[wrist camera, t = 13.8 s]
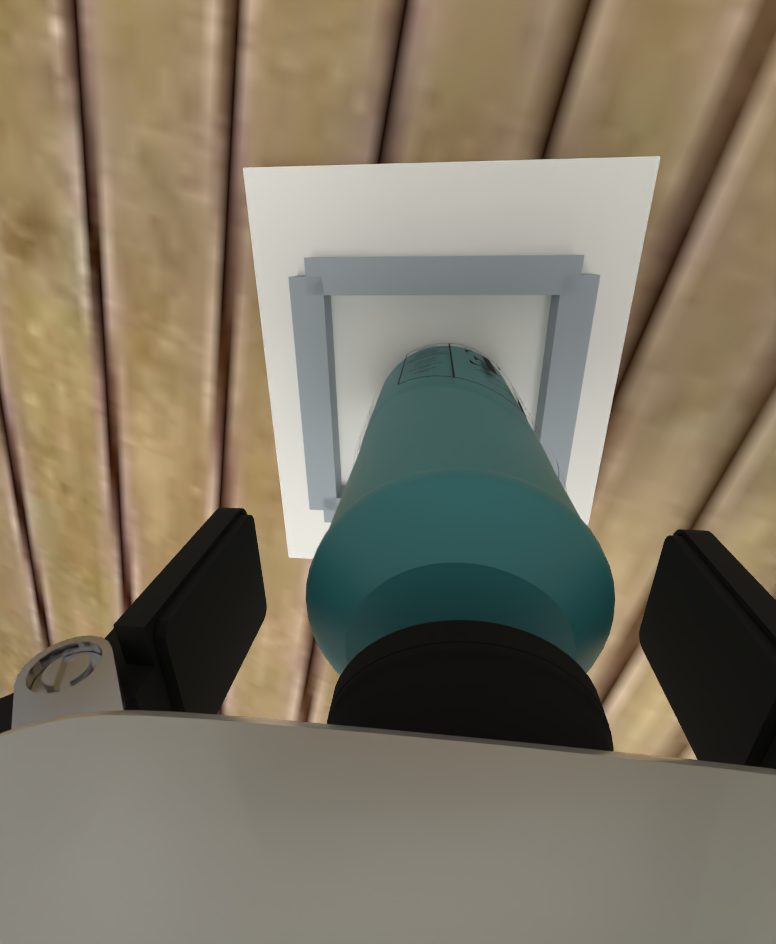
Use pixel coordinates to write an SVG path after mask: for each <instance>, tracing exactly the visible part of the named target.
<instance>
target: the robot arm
mask: <svg viewBox="0 0 776 944" xmlns="http://www.w3.org/2000/svg"><path fill="white" fill-rule="evenodd" d="M266 607H267V605H266V597H265V591H264V584H263V577H262V570H261V564H260V557H259V550H258V543H257V536H256V530H255V523H254V518H253V516H252V515H247V513H246V511H245V510H244V509H242V508H218V509H217V510H216V511H215V512H214V513H213V514H212V516H211V517H210V518H209V519H208V520H207V521H206V522H205V523H204V524H203V526H202V527H201V528H200V529H199V530H198V531H197V532H196V533H195V535H194V536H193V537H192V538H191V539H190V540H189V541H188V542H187V543H186V545H185V546H184V547H183V548H182V549H181V550H180V551H179V552H178V553H177V555H176V556H175V557H174V558H173V559H172V560H171V561H170V562H169V564H168V565H167V566H166V567H165V568H164V569H163V570H162V571H161V572H160V574H159V575H158V576H157V577H156V578H155V579H154V580H153V581H152V582H151V584H150V585H149V586H148V587H147V588H146V589H145V590H144V591H143V593H142V594H141V595H140V596H139V597H138V598H137V599H136V600H135V601H134V603H133V604H132V605H131V606H130V607H129V608H128V609H127V610H126V611H125V613H124V614H123V615H122V616H121V617H120V618H119V619H118V620H117V622H116V623H115V624H114V625H113V626H114V629H113V630H112V631H111V632H110V633H109V634H108V635H107V636H106V638H105V639H104V638H102V637H97V636H79V637H75V638H71V639H67V640H64V641H61V642H59V643H57V644H55V645H52V646H50V647H48V648H47V649H45V650H44V651H42V652H40V653H39V654H37V655H36V656H35V657H33V658H32V659H31V660H30V661H29V662H28V663H27V664H26V665H25V666H24V667H23V668H22V670H21V671H20V672H19V674H18V675H17V678H16V681H15V684H14V693H12V694H10V695H8V696H5V697H3V698H1V699H0V944H776V600H775V599H774V598H773V597H772V596H771V595H770V594H769V593H768V592H767V591H766V590H765V589H764V588H763V586H762V585H761V584H760V583H759V582H758V581H757V580H756V579H755V578H754V577H753V576H752V575H751V574H750V573H749V572H748V571H747V570H746V569H745V568H744V567H743V565H742V564H741V563H740V562H739V561H738V560H737V559H736V558H735V557H734V556H733V555H732V554H731V553H730V552H729V551H728V550H727V549H726V548H725V547H724V546H723V545H722V543H721V542H720V541H719V540H718V539H717V538H716V537H715V536H714V535H713V534H712V533H711V532H709V531H702V530H681V529H679V530H677V531H676V532H675V533H674V535H673V536H667V538H666V539H665V541H664V544H663V548H662V552H661V555H660V559H659V562H658V566H657V570H656V573H655V577H654V580H653V584H652V588H651V591H650V595H649V598H648V602H647V606H646V609H645V613H644V616H643V620H642V623H641V627H640V632H639V638H640V644H641V647H642V649H643V651H644V653H645V655H646V657H647V659H648V661H649V663H650V665H651V667H652V669H653V671H654V673H655V675H656V677H657V679H658V681H659V683H660V685H661V687H662V689H663V691H664V693H665V695H666V697H667V699H668V701H669V703H670V705H671V707H672V709H673V711H674V713H675V715H676V717H677V719H678V721H679V723H680V725H681V727H682V729H683V731H684V733H685V735H686V737H687V739H688V741H689V743H690V745H691V747H692V749H693V751H694V753H695V755H696V757H697V759H698V760H692V759H683V758H673V757H663V756H653V755H643V754H634V753H624V752H614V751H604V750H594V749H584V748H574V747H564V746H554V745H545V744H534V743H524V742H514V741H503V740H493V739H482V738H472V737H462V736H451V735H441V734H430V733H419V732H409V731H398V730H388V729H377V728H366V727H355V726H343V725H332V724H321V723H310V722H299V721H288V720H276V719H265V718H254V717H241V716H228V715H217V713H218V711H219V709H220V707H221V705H222V703H223V701H224V699H225V697H226V695H227V693H228V691H229V689H230V687H231V685H232V683H233V681H234V679H235V677H236V675H237V673H238V671H239V669H240V667H241V665H242V663H243V661H244V659H245V657H246V655H247V653H248V651H249V649H250V647H251V645H252V643H253V641H254V639H255V637H256V635H257V633H258V631H259V629H260V627H261V625H262V623H263V621H264V618H265V615H266Z"/></svg>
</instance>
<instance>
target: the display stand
mask: <svg viewBox="0 0 776 944" xmlns="http://www.w3.org/2000/svg"><path fill="white" fill-rule="evenodd" d="M660 157H661V156H648V157H612V158H576V159H540V160H504V161H468V162H432V163H396V164H361V165H325V166H289V167H253V168H243V174H244V182H245V191H246V199H247V208H248V216H249V225H250V233H251V242H252V250H253V258H254V267H255V275H256V284H257V292H258V301H259V309H260V318H261V326H262V335H263V343H264V351H265V360H266V368H267V377H268V385H269V394H270V402H271V411H272V419H273V428H274V436H275V444H276V453H277V461H278V470H279V478H280V487H281V495H282V504H283V512H284V521H285V529H286V537H287V546H288V554H289V558H309V559H313V558H314V555H315V552H316V550H317V548H318V546H319V544H320V542H321V540H322V539H323V537H324V535H325V533H326V532H327V531H328V529H329V527H330V524H331V522H332V519H333V517H334V514H335V512H336V509H337V507H338V504H339V502H340V499H341V497H342V494H343V492H344V489H345V487H346V484H347V481H348V479H349V476H350V474H351V471H352V469H353V465H354V464H355V461H356V459H357V456H358V454H359V451H360V450H359V449H358V448H359V447H361V444H362V441H363V438H364V434H365V433H364V431H365V432H366V429H367V428H366V426H367V424H369V423H368V422H369V421H370V418H369V417H371V416H372V414H371V413H373V410H374V408H375V405H376V402H377V400H378V397H379V394H380V392H381V389H382V387H383V385H384V383H385V381H386V379H387V377H388V376H389V374H390V373H391V372H392V371H393V370H394V368H395V367H396V366H397V365H398V364H399V363H401V362H402V361H403V360H404V359H405V358H406V355H407V354H408V353H409V354H408V355H407V357H409V356H410V355H412V354H414V353H416V352H418V350H419V351H421V350H420V349H422V350H424V348H425V349H427V348H428V347H429V348H431V347H432V346H433V347H434V346H435V347H437V346H449V344H448V343H455V344H450V346H456V347H462V348H465V347H467V346H468V347H467V348H465V349H468V350H471V351H473V352H476V353H478V352H479V353H478V354H480V355H482V356H484V357H485V358H487V357H488V358H487V359H489V357H490V359H489V360H490V362H491V361H492V362H491V364H493V366H494V367H495V368H496V369H497V370H498V371H499V373H500V374H501V376H502V377H503V379H504V380H505V382H506V384H507V386H508V387H509V389H510V390H511V389H512V390H513V389H515V390H513V391H512V390H511V393H512V394H513V393H514V394H513V396H514V395H516V396H517V397H515V396H514V398H515V399H516V398H519V397H520V398H519V402H521V403H520V404H521V406H522V408H523V410H524V413H525V415H526V418H527V420H528V422H529V424H530V426H531V427H532V429H533V431H534V433H535V434H536V436H537V438H538V440H539V441H540V443H541V445H542V447H543V449H544V450H545V452H546V454H547V457H548V459H549V461H550V463H551V465H552V467H553V469H554V471H555V473H556V475H557V477H558V475H559V480H560V482H561V484H562V486H563V487H564V489H565V491H566V490H567V492H566V493H567V495H568V496H569V498H570V500H571V502H572V504H573V505H574V507H575V509H576V511H577V512H578V514H579V516H580V518H581V519H582V520H583V521H584V523H585V524H586V525H587V526H588V523H589V518H590V513H591V508H592V503H593V498H594V492H595V487H596V482H597V477H598V472H599V467H600V462H601V457H602V452H603V447H604V442H605V437H606V431H607V426H608V421H609V416H610V411H611V406H612V401H613V396H614V391H615V386H616V381H617V376H618V370H619V365H620V360H621V355H622V350H623V345H624V340H625V335H626V330H627V325H628V320H629V315H630V309H631V304H632V299H633V294H634V289H635V284H636V279H637V274H638V269H639V264H640V259H641V253H642V248H643V243H644V238H645V233H646V228H647V223H648V218H649V213H650V208H651V203H652V198H653V192H654V187H655V182H656V177H657V172H658V167H659V162H660ZM440 343H443V344H440ZM433 344H434V345H433ZM459 344H460V345H459ZM428 345H429V346H428ZM464 345H465V346H464ZM424 346H425V347H424ZM430 346H431V347H430ZM421 347H422V348H421ZM426 347H427V348H426ZM470 347H471V348H470ZM418 348H419V349H418ZM469 348H470V349H469ZM473 348H474V349H473ZM416 349H417V350H416ZM475 349H476V350H475ZM414 350H415V351H414ZM474 350H475V351H474ZM412 351H413V352H412ZM410 352H411V353H410ZM483 353H484V354H483ZM486 355H487V356H486ZM495 363H497V364H495ZM497 366H499V368H500V369H501V370H499V369H498V367H497ZM511 384H512V385H511ZM512 386H513V387H512ZM377 389H378V390H377ZM515 391H516V392H517V393H516V392H515ZM515 393H516V394H515ZM375 394H376V395H375ZM517 394H518V395H517ZM520 399H521V400H520ZM373 400H374V401H373ZM517 401H518V400H517ZM522 402H523V403H522ZM517 403H518V402H517ZM373 404H374V405H373ZM523 404H524V405H523ZM371 405H372V406H373V407H372V406H371ZM524 406H525V407H524ZM524 408H525V409H526V410H525V409H524ZM369 411H372V412H371V413H370V412H369ZM527 416H528V417H529V418H528V417H527ZM531 419H532V420H531ZM366 420H367V421H366ZM533 420H534V421H533ZM532 422H533V423H532ZM365 423H366V424H365ZM536 427H537V428H536ZM365 428H366V429H365ZM363 429H364V430H363ZM534 429H535V430H534ZM539 433H540V435H539ZM362 434H363V436H362ZM359 437H360V438H359ZM361 437H362V438H361ZM358 438H359V439H358ZM360 439H361V442H360ZM545 440H546V441H545ZM357 442H358V443H357ZM359 445H360V446H359ZM357 449H358V451H357ZM355 450H356V451H355ZM357 453H358V454H357ZM354 457H355V458H354ZM557 463H558V465H557ZM558 468H559V470H558ZM561 473H562V474H561ZM562 476H563V477H562ZM563 479H564V480H563ZM564 482H565V483H564ZM565 486H566V487H565Z"/></svg>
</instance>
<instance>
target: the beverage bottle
mask: <svg viewBox="0 0 776 944" xmlns="http://www.w3.org/2000/svg"><path fill="white" fill-rule="evenodd" d="M440 344H443V343H440ZM448 344H449V346H437V347H435V346H434V347H433V346H432V347H431V346H430V347H431V348H429V347H428V348H427V347H426V348H427V349H425V348H424V350H422V349H420V350H421V351H419V350H418V352H416V353H414V354H412V355H410V356H409V357H407V355H408V354H409V353H408V354H407V355H406V358H405V359H404V360H403V361H402V362H401V363H399V364H398V365H397V366H396V367H395V368H394V370H393V371H392V372H391V373H390V374H389V376H388V377H387V379H386V381H385V383H384V385H383V387H382V389H381V392H380V394H379V397H378V400H377V402H376V405H375V408H374V410H373V413H371V412H372V411H369V412H370V413H371V414H372V416H371V417H369V418H370V421H369V422H368V423H369V424H367V426H366V428H367V429H366V428H365V429H366V432H365V431H364V433H365V434H364V438H363V441H362V444H361V447H359V448H358V449H359V450H360V451H359V454H358V453H357V454H358V456H357V459H356V461H355V464H354V465H353V469H352V471H351V474H350V476H349V479H348V481H347V484H346V487H345V489H344V492H343V494H342V497H341V499H340V502H339V504H338V507H337V509H336V512H335V514H334V517H333V519H332V522H331V524H330V527H329V529H328V531H327V532H326V533H325V535H324V537H323V539H322V540H321V542H320V544H319V546H318V548H317V550H316V552H315V555H314V558H313V561H312V563H311V566H310V569H309V574H308V579H307V584H306V604H307V612H308V618H309V622H310V626H311V629H312V633H313V635H314V637H315V640H316V642H317V644H318V646H319V648H320V649H321V651H322V653H323V654H324V656H325V657H326V659H327V660H328V661H329V663H330V664H331V665H332V667H333V668H334V669H335V671H336V672H337V673H338V674H339V675H340V677H339V680H338V682H337V684H336V686H335V690H334V694H333V699H332V703H331V707H330V711H329V716H328V720H327V724H332V725H343V726H355V727H366V728H377V729H388V730H398V731H409V732H419V733H430V734H441V735H451V736H462V737H472V738H482V739H493V740H503V741H514V742H524V743H534V744H545V745H554V746H564V747H574V748H584V749H594V750H604V751H613V742H612V735H611V731H610V728H609V724H608V721H607V718H606V716H605V713H604V710H603V707H602V704H601V702H600V699H599V696H598V693H597V691H596V688H595V686H594V685H593V683H592V681H591V679H590V678H589V676H588V675H587V674H586V673H587V672H588V671H589V669H590V668H591V667H592V666H593V664H594V663H595V661H596V659H597V658H598V656H599V654H600V653H601V651H602V650H603V648H604V645H605V643H606V641H607V638H608V636H609V634H610V630H611V626H612V622H613V616H614V605H615V592H614V581H613V577H612V573H611V570H610V566H609V564H608V561H607V559H606V557H605V555H604V552H603V550H602V548H601V546H600V544H599V542H598V541H597V539H596V538H595V536H594V535H593V533H592V531H591V530H590V528H589V527H588V526H587V525H586V524H585V523H584V521H583V520H582V519H581V518H580V516H579V514H578V512H577V511H576V509H575V507H574V505H573V504H572V502H571V500H570V498H569V496H568V495H567V493H566V492H567V490H566V491H565V489H564V487H563V486H562V484H561V482H560V480H559V475H558V477H557V475H556V473H555V471H554V469H553V467H552V465H551V463H550V461H549V459H548V457H547V454H546V452H545V450H544V449H543V447H542V445H541V443H540V441H539V440H538V438H537V436H536V434H535V433H534V431H533V429H532V427H531V426H530V424H529V422H528V420H527V418H526V415H525V413H524V410H523V408H522V406H521V404H520V403H521V402H519V398H520V397H519V398H516V399H515V398H514V396H515V397H517V396H516V395H514V396H513V394H514V393H513V394H512V393H511V390H512V389H511V390H510V389H509V387H508V386H507V384H506V382H505V380H504V379H503V377H502V376H501V374H500V373H499V371H498V370H497V369H496V368H495V367H494V366H493V364H491V362H492V361H491V362H490V360H489V359H490V357H489V359H487V358H488V357H487V358H485V357H484V356H482V355H480V354H478V353H479V352H478V353H476V352H473V351H471V350H468V349H465V348H467V347H468V346H467V347H465V348H462V347H456V346H450V344H455V343H448ZM433 345H434V344H433ZM459 345H460V344H459ZM428 346H429V345H428ZM464 346H465V345H464ZM424 347H425V346H424ZM421 348H422V347H421ZM470 348H471V347H470ZM470 348H469V349H470ZM418 349H419V348H418ZM473 349H474V348H473ZM416 350H417V349H416ZM475 350H476V349H475ZM475 350H474V351H475ZM414 351H415V350H414ZM412 352H413V351H412ZM410 353H411V352H410ZM483 354H484V353H483ZM486 356H487V355H486ZM495 364H497V363H495ZM497 367H498V369H499V370H501V369H500V368H499V366H497ZM511 385H512V384H511ZM512 387H513V386H512ZM377 390H378V389H377ZM513 390H515V389H513ZM513 390H512V391H513ZM515 392H516V391H515ZM516 393H517V392H516ZM516 393H515V394H516ZM375 395H376V394H375ZM517 395H518V394H517ZM517 400H518V401H517ZM520 400H521V399H520ZM373 401H374V400H373ZM517 402H518V403H517ZM522 403H523V402H522ZM373 405H374V404H373ZM523 405H524V404H523ZM371 406H372V405H371ZM372 407H373V406H372ZM524 407H525V406H524ZM524 409H525V408H524ZM525 410H526V409H525ZM527 417H528V416H527ZM528 418H529V417H528ZM531 420H532V419H531ZM366 421H367V420H366ZM533 421H534V420H533ZM532 423H533V422H532ZM365 424H366V423H365ZM536 428H537V427H536ZM363 430H364V429H363ZM534 430H535V429H534ZM539 435H540V433H539ZM362 436H363V434H362ZM359 438H360V437H359ZM359 438H358V439H359ZM361 438H362V437H361ZM545 441H546V440H545ZM360 442H361V439H360ZM357 443H358V442H357ZM359 446H360V445H359ZM358 449H357V451H358ZM355 451H356V450H355ZM354 458H355V457H354ZM557 465H558V463H557ZM558 470H559V468H558ZM561 474H562V473H561ZM562 477H563V476H562ZM563 480H564V479H563ZM564 483H565V482H564ZM565 487H566V486H565Z"/></svg>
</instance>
